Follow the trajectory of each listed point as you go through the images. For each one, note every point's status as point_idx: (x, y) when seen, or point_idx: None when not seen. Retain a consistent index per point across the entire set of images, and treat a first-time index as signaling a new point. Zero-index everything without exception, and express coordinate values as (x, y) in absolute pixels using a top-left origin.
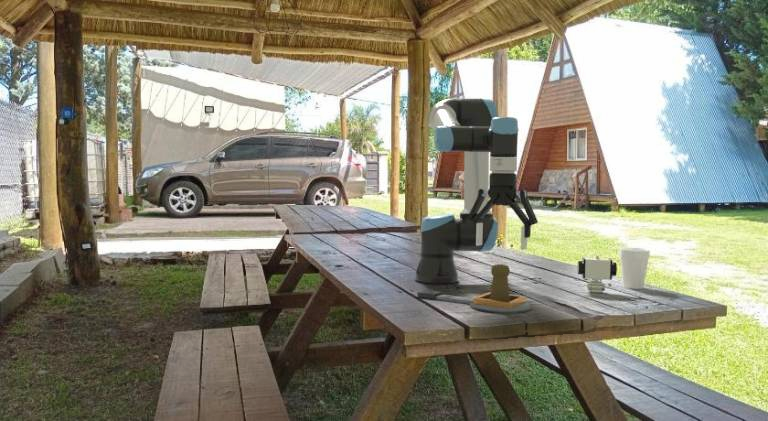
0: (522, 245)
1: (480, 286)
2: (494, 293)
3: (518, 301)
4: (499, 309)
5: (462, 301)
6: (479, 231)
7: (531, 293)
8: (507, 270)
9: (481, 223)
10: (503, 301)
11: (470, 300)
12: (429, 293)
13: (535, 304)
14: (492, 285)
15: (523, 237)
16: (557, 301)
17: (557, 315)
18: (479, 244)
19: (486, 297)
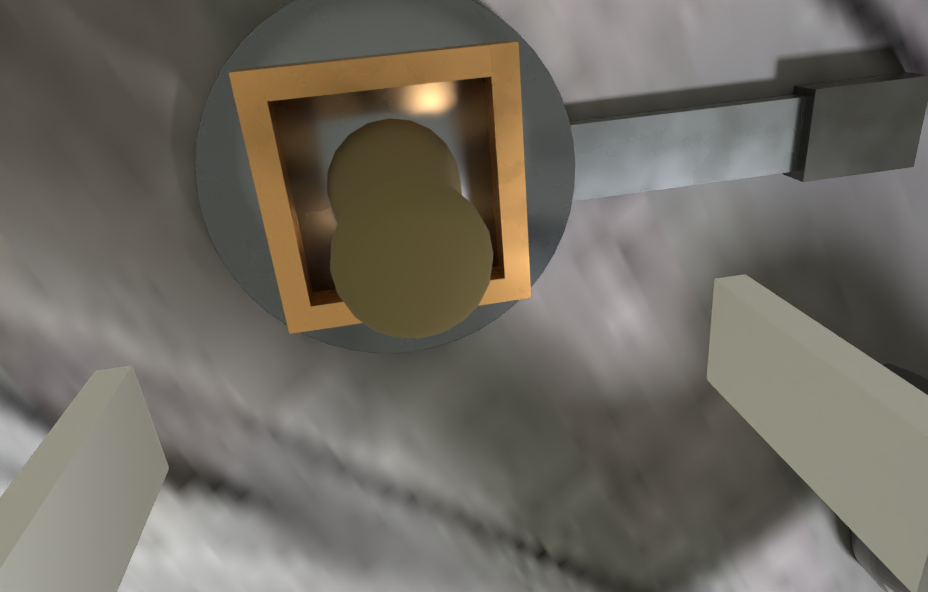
0: (86, 399)
1: (717, 535)
2: (404, 141)
3: (260, 204)
4: (285, 5)
5: (620, 117)
6: (830, 395)
7: (448, 573)
8: (332, 253)
9: (919, 545)
10: (301, 89)
11: (577, 139)
12: (853, 90)
13: (284, 382)
14: (438, 170)
15: (16, 477)
16: (247, 516)
17: (5, 219)
18: (718, 315)
19: (496, 197)
